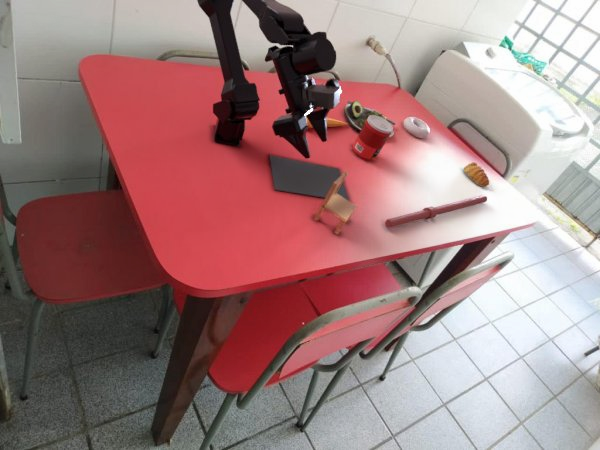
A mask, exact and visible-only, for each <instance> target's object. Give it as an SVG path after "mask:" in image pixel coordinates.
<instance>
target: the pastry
mask: <svg viewBox="0 0 600 450" xmlns="http://www.w3.org/2000/svg"><path fill="white" fill-rule="evenodd" d="M463 171H464V174H466V175H467V177H468V178H469V180H471V181H472V182H473V183H475V184H476V185H477V186H480V187H483V188H485V187H488V186H489V185H490V180H489V177H488V175H487V173H486V172H485V169H484V168H482V166H481V165H479V164H478V163H477V162H475V161H472V162H469V163H468V164H466V166H464V167H463Z"/></svg>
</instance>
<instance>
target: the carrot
mask: <svg viewBox="0 0 600 450" xmlns="http://www.w3.org/2000/svg"><path fill="white" fill-rule="evenodd" d="M306 119H307V125H306V126H308V125H309V127H308V129H314V128H313V126H312V125H311V123H310V122H309V120H308V118H307V117H306ZM344 126H350V124H348V122H344V121H341V120H338V119H335V118H330V117H327V128H332V127H344Z"/></svg>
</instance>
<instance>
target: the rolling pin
mask: <svg viewBox="0 0 600 450" xmlns="http://www.w3.org/2000/svg"><path fill="white" fill-rule="evenodd" d="M486 202H488V197H487V196H486V195H485V194H481V195H478V196H474V197H470V198H466V199H461V200H459V201H455V202H451V203H446V204H443V205H438V206H428V207H424V208H423V209H422V210H419V211H414V212H411V213H406V214H402V215H399V216H395V217H391V218H387V219H385V221H384V224H385V227H386V228H387V229H392V228H396V227H399V226H403V225H406V224H410V223H415V222H417V221H420V220H424V219H425V220H431V219H434V218H436V217H437V216H439V215H442V214H446V213H450V212H453V211H458V210H462V209H465V208H469V207H471V206H477V205H480V204H484V203H486Z"/></svg>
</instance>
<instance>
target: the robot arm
mask: <svg viewBox="0 0 600 450" xmlns="http://www.w3.org/2000/svg"><path fill="white" fill-rule="evenodd" d="M196 1H197V4H198V6H199V8H200V9H201V11H202V12H203V13H204V14H205V15H206V17H208V20H209V23H210V28H211V31H212V36H213V40H214V44H215V49H216V53H217V57H218V61H219V65H220V69H221V74H222V78H223V82H224V83H223V86H222V89H221V93H220V101H217V102H215V103H214V102H213V104H212V114H213V115H214V116H216V121H215V124H214V125H213V141H214V142H216V143H220V144H225V145H230V146H235V147H240V146H241V141H243V137H244V134H245V131H246V121H252V119H253V118H255V116H257V115H258V112H259V110H260V101H261V99H260V97H259V94H258V86H257V85H256V82H250V81H249V80H248V79H247V78H246V74H245V70H244V66H243V61H242V58H241V53H240V50H239V45H238V41H237V37H236V31H235V27H234V22H233V18H232V13H231V12H232V9H233V6H234V3H235V0H196ZM241 1H242V2H243V3H244V5H246V7H247V8H248V9H249V10H250V11H251V12H252V14H254V16H256V18H257V19H258V27H259V30H260V31H261V32H262V34H263V35H264V37H265V39H266V40H267V42H268V43H271V44H274V45H272V46H270V47H268V48H267V53H266V55H265V56H264V61H265V63H269V62H271V61H272V63H273V66H274V69H275V73H276V75H277V78H278V81H279V84H280V87H281V88H279V89H278V93H279V95H280V96H281V95H284V98H285V102H286V104H287V107H286V108H285V109H284V111H285V113H286V114H283V115H280V116H279V117H278V118H277V119H275V120H274V121H273V123H272V125H271V128H272V131H273V134H274V136H276V137H277V136H279V138H282V139H284V140H285V141H286V142H287V143H289V145H291V146H292V147H293V148H294V149H295V150H296V151H297V152H298V153H299V154H300V155H301V156H302V157H303V158H304V159H305V160H306V159H307V160H308V159H310V158H311V153H310V147H309V143H308V138H307V132H308V130H309V128H308V127H309V125H308V126H306V125H307V119H306V117H307V118H308V120H309V122H310V123H311V125H312V126H313V128H312V129H313V130H314V132H315V133H316V135H317V136H318V138H319V140H321V142H322V143H325V142H328V127H327V118H328V114H329V113H330V111H331V110H334V109H335V108H336V106H337V105H339V104H340V99H341V98H340V97H341V96H340V95H341V94H342V93H343V89H342V88H341V87H342V86H341V85H340V84H339V80H338V79H337V78H333V77H330V78H328V80H327V81H326V82H325V83H321V84H316V82H315V79H314V78H313V77H312V76H311V75H315V74H320V73H325V72H328V71H332V70H333V69H334V67H335V65H336V63H337V51H336V50H335V47H334V45H333V43H332V42H331V41H330V39H328V37H327V32H326V31H316V32H313V33H311V31H310V30H309V28H308V27H307V26H306V24H305V20H304V18H303V16H302V15H301V13H299V12H297V11H296V10H295V9H293V8H291V7H290V6H287V5H285V4H283V3H281V2H279V1H277V0H241ZM275 44H278V45H279V46H282V47H279V46H277V45H275ZM309 76H310V77H309Z"/></svg>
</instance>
